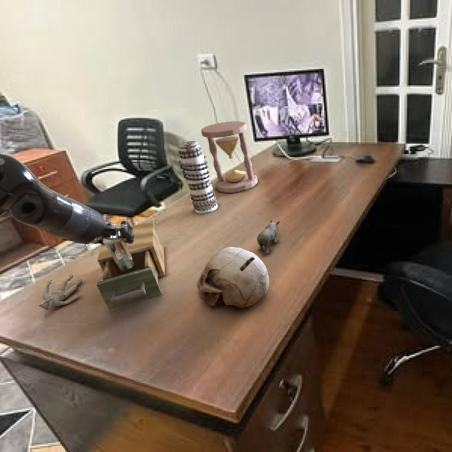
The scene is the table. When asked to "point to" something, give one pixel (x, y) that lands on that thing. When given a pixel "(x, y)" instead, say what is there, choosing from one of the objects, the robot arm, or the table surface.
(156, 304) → the table surface
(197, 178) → the leaning tower model
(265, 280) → the coin bank
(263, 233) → the rhino figurine
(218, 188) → the hourglass
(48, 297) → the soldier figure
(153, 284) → the drawer
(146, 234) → the cabinet
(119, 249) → the milkshake
